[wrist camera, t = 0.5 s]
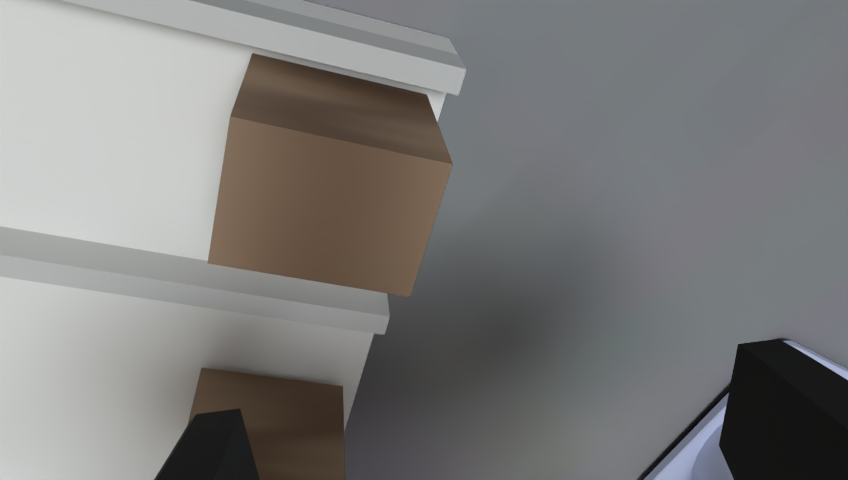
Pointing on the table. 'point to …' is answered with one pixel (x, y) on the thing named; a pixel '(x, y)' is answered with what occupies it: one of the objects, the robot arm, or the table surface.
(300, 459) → the tab middle
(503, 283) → the table surface
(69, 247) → the white flat ridged tray
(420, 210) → the brown cardboard box
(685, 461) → the robot arm
